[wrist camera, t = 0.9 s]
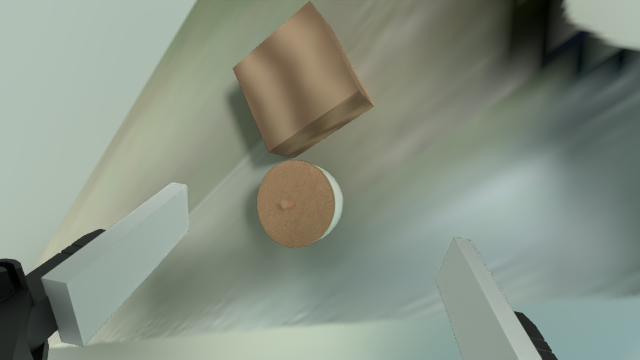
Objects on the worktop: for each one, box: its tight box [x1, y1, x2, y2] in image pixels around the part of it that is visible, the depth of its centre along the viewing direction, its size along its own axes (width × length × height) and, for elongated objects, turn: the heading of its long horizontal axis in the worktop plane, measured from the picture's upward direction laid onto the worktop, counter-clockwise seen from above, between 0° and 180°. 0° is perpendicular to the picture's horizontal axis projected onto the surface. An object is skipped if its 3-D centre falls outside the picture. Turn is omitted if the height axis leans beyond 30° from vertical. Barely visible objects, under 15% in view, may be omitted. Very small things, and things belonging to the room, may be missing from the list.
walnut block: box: [233, 1, 374, 158], centre depth 41 cm, size 14×14×7 cm
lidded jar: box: [257, 160, 343, 248], centre depth 39 cm, size 11×11×9 cm
